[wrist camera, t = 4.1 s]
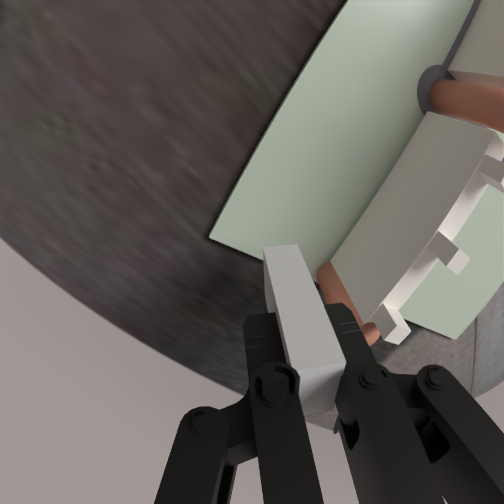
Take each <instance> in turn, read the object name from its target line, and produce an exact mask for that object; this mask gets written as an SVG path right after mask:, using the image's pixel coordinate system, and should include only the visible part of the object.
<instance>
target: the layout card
mask: <svg viewBox="0 0 504 504" xmlns="http://www.w3.org/2000/svg"><path fill="white" fill-rule="evenodd" d="M480 2H481V0H346V2H345V3H344V5H343V6H342V8H341V9H340V11H339V12H338V14H337V15H336V17H335V18H334V20H333V21H332V23H331V24H330V26H329V27H328V29H327V30H326V32H325V34H324V35H323V37H322V38H321V40H320V41H319V43H318V44H317V46H316V48H315V49H314V51H313V52H312V54H311V56H310V57H309V59H308V60H307V62H306V64H305V65H304V67H303V68H302V70H301V72H300V73H299V75H298V77H297V78H296V80H295V82H294V83H293V85H292V87H291V88H290V90H289V92H288V93H287V95H286V97H285V98H284V100H283V102H282V103H281V105H280V107H279V108H278V110H277V112H276V113H275V115H274V117H273V119H272V120H271V122H270V124H269V125H268V127H267V129H266V131H265V132H264V134H263V136H262V138H261V139H260V141H259V143H258V145H257V146H256V148H255V150H254V152H253V154H252V155H251V157H250V159H249V161H248V163H247V164H246V166H245V168H244V170H243V172H242V173H241V175H240V177H239V179H238V181H237V182H236V184H235V186H234V188H233V190H232V192H231V194H230V195H229V197H228V199H227V201H226V203H225V205H224V207H223V208H222V210H221V212H220V214H219V216H218V218H217V220H216V222H215V224H214V226H213V227H212V229H211V231H210V233H209V238H211V239H213V240H216V241H218V242H221V243H223V244H225V245H228V246H230V247H232V248H235V249H237V250H240V251H242V252H244V253H247V254H249V255H252V256H254V257H256V258H259V259H261V260H263V247H271V246H281V245H291V244H297V245H298V247H299V250H300V252H301V254H302V256H303V259H304V261H305V263H306V266H307V268H308V270H309V272H310V275H311V277H312V279H313V281H314V282H316V283H318V282H317V279H316V274H317V271H318V269H319V268H320V267H321V266H322V265H323V264H324V263H326V262H329V261H330V260H331V259H332V258H333V256H334V255H335V253H336V252H337V251H338V249H339V248H340V246H341V245H342V244H343V242H344V241H345V239H346V238H347V237H348V235H349V234H350V232H351V231H352V229H353V228H354V226H355V225H356V224H357V222H358V221H359V219H360V218H361V216H362V215H363V213H364V212H365V210H366V209H367V207H368V206H369V204H370V203H371V201H372V200H373V198H374V197H375V195H376V194H377V192H378V191H379V189H380V188H381V186H382V185H383V183H384V182H385V180H386V178H387V177H388V175H389V174H390V172H391V171H392V169H393V167H394V166H395V164H396V163H397V161H398V159H399V158H400V156H401V155H402V153H403V151H404V150H405V148H406V146H407V145H408V143H409V142H410V140H411V138H412V137H413V135H414V133H415V132H416V130H417V128H418V126H419V125H420V123H421V121H422V120H423V118H424V116H425V114H426V113H427V111H429V112H433V113H437V114H441V113H439V112H437V111H436V110H435V109H434V107H433V105H432V103H431V100H430V89H431V86H432V84H433V83H434V82H435V81H436V80H438V79H447V80H455V81H457V80H456V79H455V78H454V77H453V76H452V75H451V73H450V72H449V71H448V68H449V66H450V64H451V62H452V60H453V58H454V56H455V54H456V52H457V50H458V48H459V46H460V44H461V42H462V40H463V38H464V36H465V34H466V32H467V30H468V28H469V26H470V24H471V22H472V20H473V17H474V15H475V13H476V11H477V9H478V6H479V4H480ZM441 115H444V114H441ZM444 116H448V115H444ZM448 117H451V118H455V117H452V116H448ZM455 119H458V120H462V119H459V118H455ZM462 121H465V120H462ZM465 122H468V123H471V124H475V123H472V122H469V121H465ZM475 125H478V124H475ZM478 126H481V125H478ZM481 127H484V126H481ZM484 128H486V129H489V130H492V131H495V132H496V133H497V135H498V136H499V137H500V139H501V140H502V142H503V143H504V133H501V132H498V131H496V130H493V129H490V128H487V127H484ZM501 162H503V163H504V157H503V159H502V161H501ZM452 242H453V243H454V244H455V245H456V246H457V247H458V248H459V249H460V250H461V251H462V252H464V253H465V254H466V255H467V256H468V257H469V258H470V260H469V261H468V263H467V264H466V266H465V267H464V268H463V270H462V271H461V272H460V274H459V275H457V274H456V273H454V272H453V271H452V270H450V269H449V268H448V267H446V266H445V265H444V264H443V263H442V262H441V261H440V259H439V260H438V262H437V263H436V264H435V266H434V267H433V268H432V270H431V271H430V272H429V273H428V275H427V276H426V277H425V279H424V280H423V281H422V282H421V284H420V285H419V286H418V287H417V289H416V290H415V291H414V292H413V294H412V295H411V296H410V297H409V298H408V300H407V301H406V302H405V303H404V304H403V305H402V307H401V308H400V309H399V310H398V311H399V313H400V314H401V316H402V317H403V319H406V320H408V321H411V322H413V323H415V324H418V325H420V326H423V327H425V328H428V329H430V330H432V331H435V332H437V333H440V334H442V335H445V336H447V337H450V338H452V339H454V340H456V339H457V338H458V337H459V336H460V334H461V333H462V332H463V331H464V330H465V329H466V328H467V327H468V325H469V324H470V323H471V322H472V321H473V320H474V318H475V317H476V316H477V315H478V314H479V313H480V311H481V310H482V309H483V308H484V306H485V305H486V304H487V303H488V301H489V300H490V299H491V298H492V296H493V295H494V294H495V292H496V291H497V290H498V288H499V287H500V286H501V284H502V283H503V282H504V193H503V192H501V191H499V190H498V189H496V188H494V187H493V186H491V185H488V186H487V188H486V190H485V191H484V193H483V195H482V196H481V198H480V200H479V201H478V203H477V205H476V206H475V208H474V209H473V211H472V213H471V214H470V216H469V217H468V219H467V220H466V222H465V223H464V225H463V226H462V228H461V229H460V231H459V232H458V234H457V235H456V237H455V238H454V239H453V241H452Z"/></svg>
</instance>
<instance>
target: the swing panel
mask: <svg viewBox="0 0 504 504" xmlns="http://www.w3.org/2000/svg"><path fill="white" fill-rule="evenodd" d="M503 157H504V143H503V142H502V140H501V139H500V137H499V136H498V135H497V133H496V132H495V131H492V130H489V129H486V128H484V127H481V126H478V125H475V124H471V123H468V122H465V121H462V120H458V119H455V118H451V117H448V116H444V115H441V114H437V113H433V112H429V111H427V113H426V114H425V116H424V118H423V120H422V121H421V123H420V125H419V126H418V128H417V130H416V132H415V133H414V135H413V137H412V138H411V140H410V142H409V143H408V145H407V146H406V148H405V150H404V151H403V153H402V155H401V156H400V158H399V159H398V161H397V163H396V164H395V166H394V167H393V169H392V171H391V172H390V174H389V175H388V177H387V178H386V180H385V182H384V183H383V185H382V186H381V188H380V189H379V191H378V192H377V194H376V195H375V197H374V198H373V200H372V201H371V203H370V204H369V206H368V207H367V209H366V210H365V212H364V213H363V215H362V216H361V218H360V219H359V221H358V222H357V224H356V225H355V226H354V228H353V229H352V231H351V232H350V234H349V235H348V237H347V238H346V239H345V241H344V242H343V244H342V245H341V246H340V248H339V249H338V251H337V252H336V253H335V255H334V256H333V258H332V259H331V260H330V261H329V262H326V263H324V264H323V265H322V266H321V267H320V268H319V269H318V271H317V274H316V279H317V282H318V284H319V286H320V288H321V291H322V293H323V295H324V298H325V300H326V302H327V304H334V303H341V302H342V303H343V304H344V305H346V306H347V307H348V308H349V309H350V310H352V312H353V314H354V316H355V318H356V320H357V323H358V324H359V326H360V328H361V331H362V333H363V335H364V337H365V339H366V341H367V343H368V345H369V346H370V345H372V344H373V343H374V342H375V341H376V340H377V339H378V338H379V336H380V334H381V336H382V338H383V340H385V341H388V342H392V343H395V344H398V345H399V344H400V343H401V342H402V340H403V339H404V338H405V337H406V336H407V335H408V334H409V333H410V332H411V330H410V328H409V327H408V325H407V324H406V322H405V321H404V319H403V317H402V316H401V314H400V313H399V311H398V310H399V309H400V308H401V307H402V305H403V304H404V303H405V302H406V301H407V300H408V298H409V297H410V296H411V295H412V294H413V292H414V291H415V290H416V289H417V287H418V286H419V285H420V284H421V282H422V281H423V280H424V279H425V277H426V276H427V275H428V273H429V272H430V271H431V270H432V268H433V267H434V266H435V264H436V263H437V262H438V260H439V259H440V261H441V262H442V263H443V264H444V265H445V266H446V267H448V268H449V269H450V270H452V271H453V272H454V273H456V274H457V275H459V274H460V272H461V271H462V270H463V268H464V267H465V266H466V264H467V263H468V261H469V260H470V258H469V257H468V256H467V255H466V254H465V253H464V252H462V251H461V250H460V249H459V248H458V247H457V246H456V245H455V244H454V243H453V242H452V241H453V239H454V238H455V237H456V235H457V234H458V232H459V231H460V229H461V228H462V226H463V225H464V223H465V222H466V220H467V219H468V217H469V216H470V214H471V213H472V211H473V209H474V208H475V206H476V205H477V203H478V201H479V200H480V198H481V196H482V195H483V193H484V191H485V190H486V188H487V186H488V185H491V186H493V187H494V188H496V189H498V190H499V191H501V192H503V193H504V163H503V162H501V161H502V159H503Z"/></svg>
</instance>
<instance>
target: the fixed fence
mask: <svg viewBox="0 0 504 504" xmlns="http://www.w3.org/2000/svg"><path fill="white" fill-rule="evenodd" d="M448 71H449V72H450V73H451V75H452V76H453V77H454V78H455V79H456V80H457V81H455V80H447V79H438V80H436V81H435V82H434V83H433V84H432V86H431V89H430V100H431V103H432V105H433V107H434V109H435V110H436V111H437V112H439V113H441V114H444V115H448V116H452V117H455V118H459V119H462V120H465V121H469V122H472V123H475V124H478V125H481V126H484V127H487V128H490V129H493V130H496V131H498V132H501V133H504V0H481V2H480V4H479V6H478V9H477V11H476V13H475V15H474V17H473V20H472V22H471V24H470V26H469V28H468V30H467V32H466V34H465V36H464V38H463V40H462V42H461V44H460V46H459V48H458V50H457V52H456V54H455V56H454V58H453V60H452V62H451V64H450V66H449V68H448Z"/></svg>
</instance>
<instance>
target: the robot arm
mask: <svg viewBox="0 0 504 504" xmlns="http://www.w3.org/2000/svg"><path fill="white" fill-rule="evenodd" d="M263 262H264V283H265V299H266V304H267V309H268V313H263V314H254V315H248V316H247V318H246V320H245V323H244V325H243V330H244V340H245V349H246V358H247V368H248V377H249V388H248V390H247V393H246V394H245V396H244V397H243V398H242V399H241V400H240V401H238V402H237V403H235V404H233V405H231V406H228V407H226V408H223V409H220V410H218V409H216V408H213V407H209V406H206V407H197V408H194V409H192V410H190V411H189V412H188V413H186V414H185V415H184V417H183V418H182V420H181V422H180V424H179V428H178V431H177V434H176V437H175V440H174V443H173V446H172V449H171V452H170V455H169V458H168V461H167V464H166V467H165V470H164V474H163V477H162V480H161V483H160V486H159V489H158V492H157V495H156V499H155V502H154V504H230V499H231V494H232V490H233V485H234V480H235V475H236V470H237V465H238V464H240V463H243V462H245V461H248V460H250V459H253V458H255V457H258V462H259V470H260V478H261V485H262V493H263V500H264V504H324V502H323V498H322V493H321V488H320V484H319V480H318V475H317V471H316V466H315V462H314V458H313V453H312V449H311V445H310V440H309V436H308V432H307V427H306V423H305V419H304V415H310V414H315V413H321V412H326V411H331V410H333V408H334V405H335V404H336V407H337V410H338V413H339V414H338V417H337V420H336V423H335V425H334V428H333V429H334V434H336V433H337V432H338V429H339V432H340V436H341V439H342V443H343V446H344V450H345V453H346V457H347V461H348V464H349V468H350V471H351V475H352V479H353V482H354V486H355V489H356V493H357V497H358V501H359V504H445V502H444V500H443V497H444V499H445V500H446V501H447V503H448V504H504V433H503V432H502V431H501V430H500V428H499V427H498V426H497V425H496V424H495V423H494V421H493V420H492V419H491V418H490V417H489V415H488V414H487V413H486V412H485V411H484V410H483V409H482V407H481V406H480V405H479V404H478V403H477V402H476V401H475V399H474V398H473V397H472V396H471V395H470V394H469V393H468V392H467V390H466V389H465V388H464V387H463V386H462V385H461V384H460V383H459V382H458V380H457V379H456V378H455V377H454V376H453V375H452V374H451V373H450V372H449V371H448V370H447V369H445V368H444V367H442V366H439V365H427V366H425V367H423V368H422V369H421V370H420V371H419V372H418V374H417V375H408V374H394V373H391V372H389V371H388V369H387V368H385V367H383V366H382V365H380V364H378V363H377V361H376V360H375V358H374V355H373V353H372V351H371V349H370V347H369V345H368V343H367V341H366V339H365V337H364V335H363V333H362V331H361V328H360V326H359V324H358V323H357V320H356V318H355V316H354V314H353V312H352V310H350V309H349V308H348V307H347V306H346V305H344V304H343V303H342V302H341V303H334V304H327V305H323V303H322V301H321V298H320V296H319V294H318V291H317V289H316V286H315V284H314V282H313V279H312V277H311V275H310V272H309V270H308V268H307V266H306V263H305V261H304V259H303V256H302V254H301V252H300V250H299V247H298V245H297V244H291V245H281V246H271V247H263ZM442 496H443V497H442Z"/></svg>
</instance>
